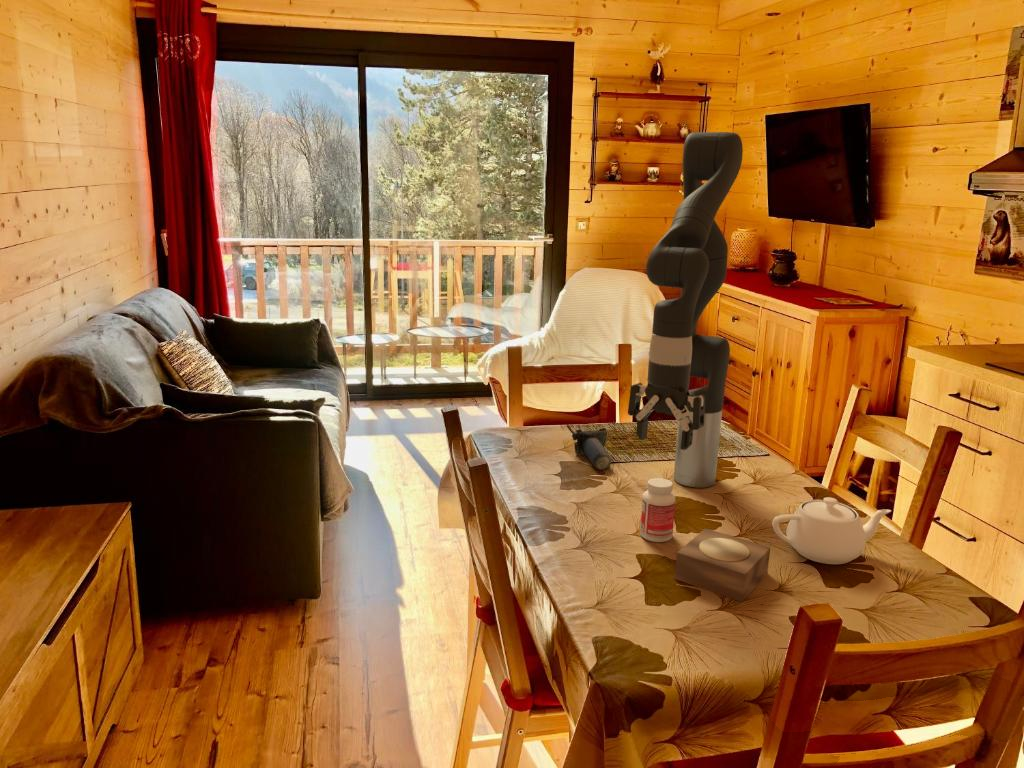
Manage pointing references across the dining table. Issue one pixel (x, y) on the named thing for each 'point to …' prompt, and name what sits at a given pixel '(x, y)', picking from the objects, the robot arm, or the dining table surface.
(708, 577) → the pedestal
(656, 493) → the pill bottle
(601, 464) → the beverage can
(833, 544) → the teapot
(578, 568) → the dining table surface
